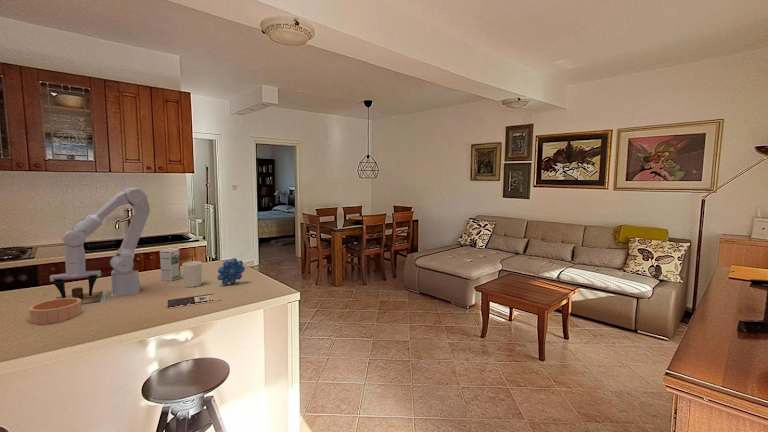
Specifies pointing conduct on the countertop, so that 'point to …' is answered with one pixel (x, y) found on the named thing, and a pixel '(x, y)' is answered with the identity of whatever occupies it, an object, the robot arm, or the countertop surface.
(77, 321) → the countertop surface
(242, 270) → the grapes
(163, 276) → the syrup box
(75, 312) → the bowl
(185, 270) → the white cup
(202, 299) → the chocolate bar
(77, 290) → the lid
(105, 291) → the mat
